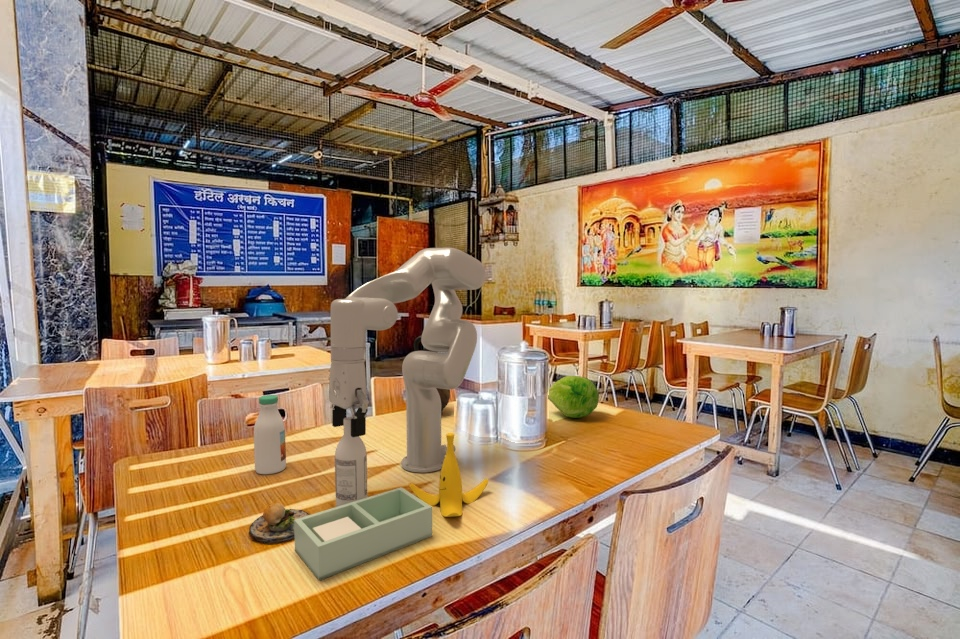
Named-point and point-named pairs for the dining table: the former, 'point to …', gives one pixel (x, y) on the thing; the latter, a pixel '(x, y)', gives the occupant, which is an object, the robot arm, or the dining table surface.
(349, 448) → the bath foam
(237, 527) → the dining table surface
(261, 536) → the burger
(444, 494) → the banana peel
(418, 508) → the box
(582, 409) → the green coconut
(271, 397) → the milk bottle
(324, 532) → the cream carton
